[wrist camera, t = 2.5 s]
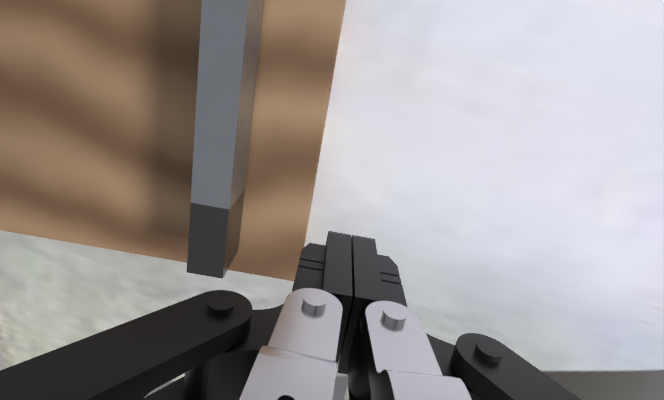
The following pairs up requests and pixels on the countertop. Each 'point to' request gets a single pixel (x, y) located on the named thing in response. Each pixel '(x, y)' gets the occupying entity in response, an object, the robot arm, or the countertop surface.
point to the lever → (222, 130)
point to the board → (154, 125)
